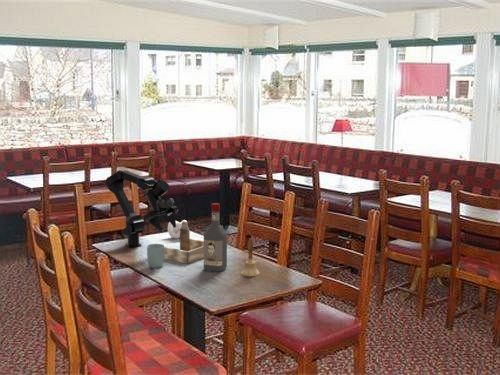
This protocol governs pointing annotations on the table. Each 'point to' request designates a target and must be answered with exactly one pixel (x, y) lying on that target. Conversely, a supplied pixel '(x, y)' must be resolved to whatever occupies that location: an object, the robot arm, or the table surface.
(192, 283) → the table surface
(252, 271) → the hand bell
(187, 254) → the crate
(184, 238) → the pepper mill
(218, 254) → the liquor
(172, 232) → the white knot sculpture
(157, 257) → the cup
